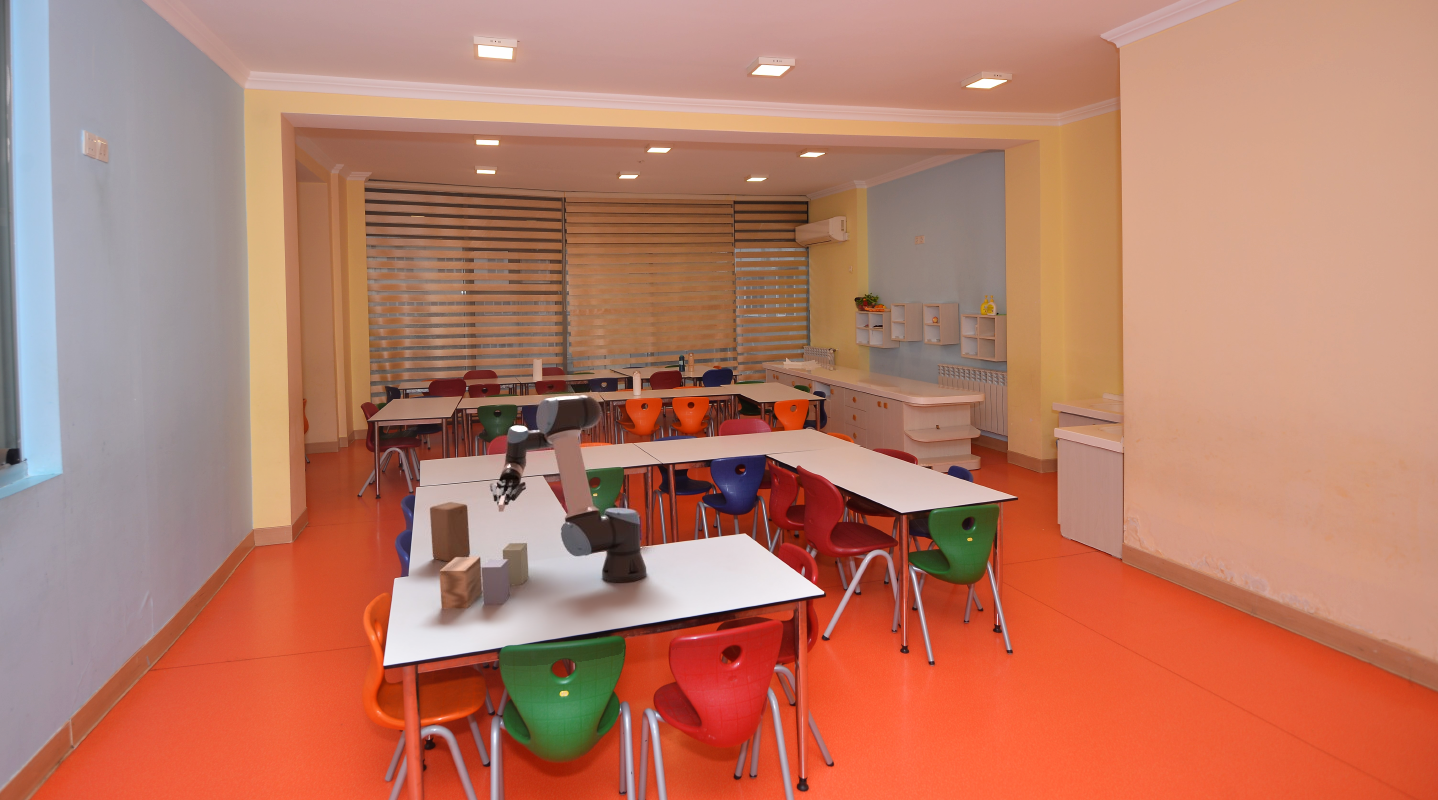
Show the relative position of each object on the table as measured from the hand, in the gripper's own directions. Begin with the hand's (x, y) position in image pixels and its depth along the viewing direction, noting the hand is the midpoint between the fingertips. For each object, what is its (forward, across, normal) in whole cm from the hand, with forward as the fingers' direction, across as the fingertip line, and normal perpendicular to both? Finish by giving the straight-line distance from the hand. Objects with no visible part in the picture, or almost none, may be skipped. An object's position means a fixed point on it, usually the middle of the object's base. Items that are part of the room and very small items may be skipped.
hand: (500, 508), depth 269 cm
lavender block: (+30, -2, -17) cm, 34 cm away
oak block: (+29, +9, -17) cm, 34 cm away
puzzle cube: (-25, -41, -32) cm, 58 cm away
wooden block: (-18, +24, -30) cm, 42 cm away
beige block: (+13, -5, -21) cm, 25 cm away
